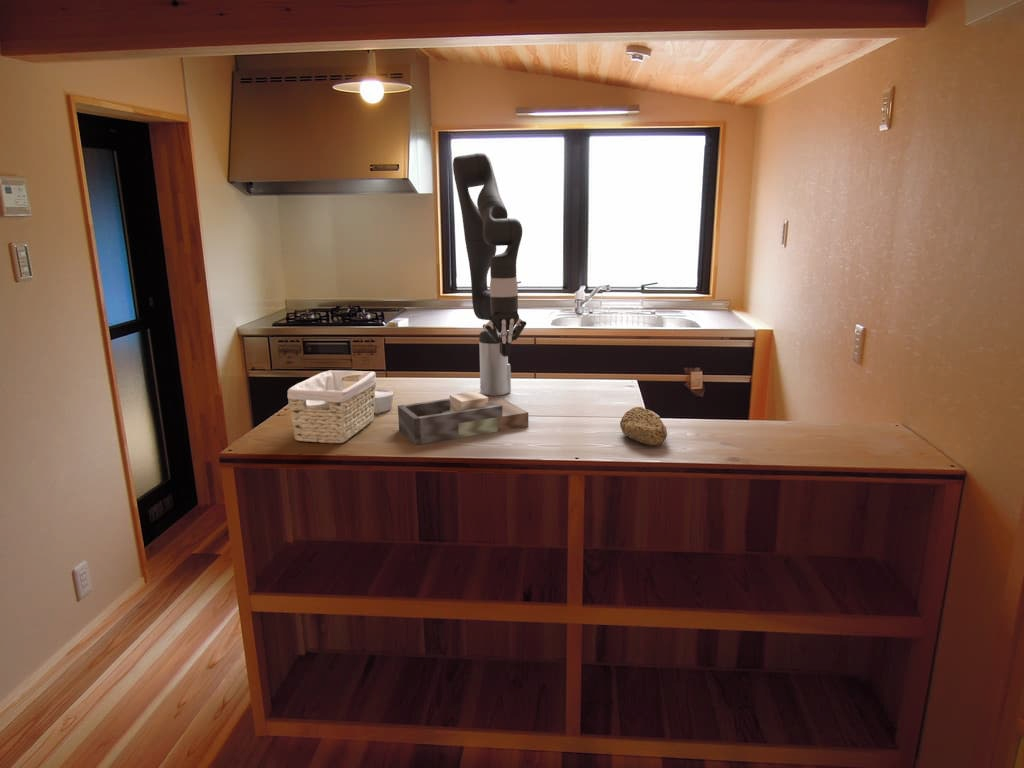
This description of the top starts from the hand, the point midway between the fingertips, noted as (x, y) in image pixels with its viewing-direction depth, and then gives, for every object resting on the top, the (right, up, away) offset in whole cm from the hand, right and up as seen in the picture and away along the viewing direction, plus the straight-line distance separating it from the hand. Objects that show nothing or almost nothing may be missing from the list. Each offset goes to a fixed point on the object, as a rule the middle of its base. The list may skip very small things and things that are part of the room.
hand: (505, 355), depth 192 cm
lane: (-12, -20, -1) cm, 23 cm away
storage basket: (-46, -21, -1) cm, 51 cm away
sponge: (+37, -22, -10) cm, 44 cm away
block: (-10, -16, -1) cm, 19 cm away
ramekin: (-40, -16, +18) cm, 46 cm away
